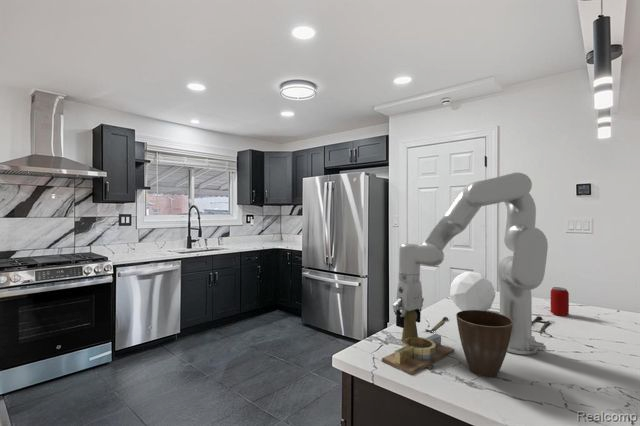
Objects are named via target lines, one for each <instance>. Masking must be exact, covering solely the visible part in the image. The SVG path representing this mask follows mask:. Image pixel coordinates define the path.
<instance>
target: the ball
mask: <svg viewBox="0 0 640 426" xmlns="http://www.w3.org/2000/svg"><path fill="white" fill-rule="evenodd" d="M449 297H450V299H451V300H452V302H453V303H454V305H455V306H456V307H457V308H458V309H459V310H460V311H465V310H481V311H489V310H491V308H492V305H493V302H494V301H495V298H496V291H495V288H494V286H493V283H492V281H490V280H489V279H488V278H486V276H484V275H483V274H482V273H481V272H473V271H464V272H462V273H460V274H458V275H457V276H455V277H454V279H453V280H452V282H451V283H450V288H449Z"/></svg>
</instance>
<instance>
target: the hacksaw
mask: <svg viewBox="0 0 640 426" xmlns="http://www.w3.org/2000/svg"><path fill="white" fill-rule="evenodd" d="M535 323H541V324H543V323H544V324H543V325H542V327H541V328H540V329H539V330H533V329H532V332H535V333H539V335H540V336H541V337H544V338H546V336H545V335H547V336H549V337H550V338H553V336H552V335H551V334H549V333H547V332H546V330H545V329H546V328H547V327H548V326H549V325H550V324H551V323H553V324H555V323H556V322H555V321H553V320H543V317H542V316H540V315H538V316H536V317H535V318H534V319H533V321H532V326H533V325H534V324H535ZM542 334H545V335H542Z"/></svg>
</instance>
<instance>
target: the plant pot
mask: <svg viewBox="0 0 640 426" xmlns="http://www.w3.org/2000/svg"><path fill="white" fill-rule="evenodd" d="M455 316H456V323H457V330H458V335H459V339H460V342H461V347H462V351H463V353H464V357H465V360H466V362H467V363H466V364H467V365H468V368H469V370H470V372H471V373H473V374H474V375H476V376H479V377H482V378H483V377H484V378H495V377H497V376H498V375H499V372H500V370H501V368H502V365H503V363H504V361H505V358H506V356H507V353H508V352H507V349H508V346H509V342H510V337H511V332H512V325H513V321H512V320H511V319H510V318H508V317H506V316H504V315H501V314H500V313H499V312H498V313H497V312H493V311H489V310H487V311H481V310H465V311H462V310H460V311H459V312H457V313H456V315H455Z"/></svg>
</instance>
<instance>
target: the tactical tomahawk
mask: <svg viewBox="0 0 640 426" xmlns="http://www.w3.org/2000/svg"><path fill="white" fill-rule="evenodd" d="M448 320H449V317H448V316H444V317H442V319H441V320H440V321H439V322H438V323H437V324H435V325H434V326H433V327H432V328H431V329H425V333H430V334H434V333H435V332H437V330H438V329H439V328H440V327H441V326H442V325H443V324H445V323H446V322H447V321H448ZM445 321H446V322H445ZM439 326H440V327H439ZM432 331H433V332H432ZM434 331H435V332H434Z"/></svg>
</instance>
